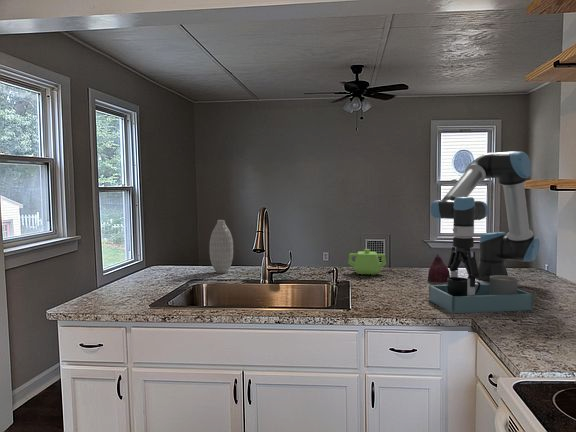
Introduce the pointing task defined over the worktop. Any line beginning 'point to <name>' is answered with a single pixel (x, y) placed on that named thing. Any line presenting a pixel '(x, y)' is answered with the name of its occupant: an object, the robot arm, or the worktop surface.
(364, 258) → the green rounded pot
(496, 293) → the coffee mug
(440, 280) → the vegetable
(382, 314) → the worktop surface
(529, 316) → the worktop surface
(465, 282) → the mug
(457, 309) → the tote
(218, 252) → the vase
